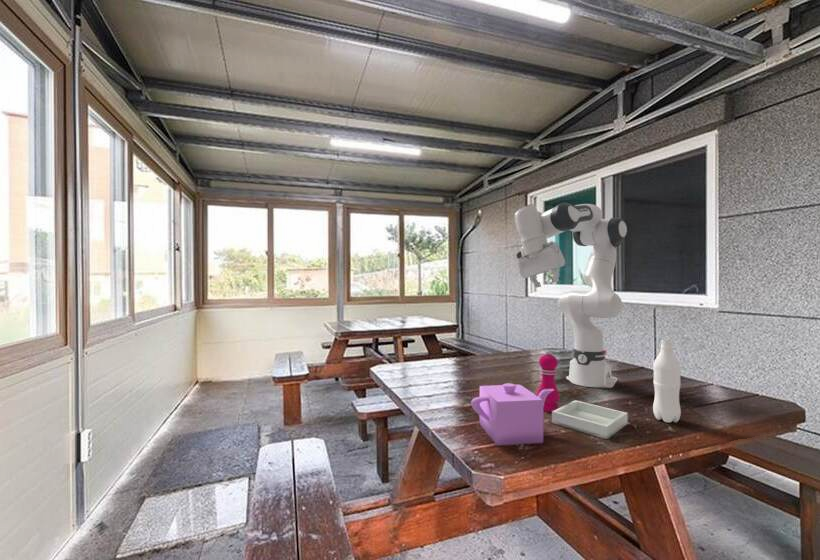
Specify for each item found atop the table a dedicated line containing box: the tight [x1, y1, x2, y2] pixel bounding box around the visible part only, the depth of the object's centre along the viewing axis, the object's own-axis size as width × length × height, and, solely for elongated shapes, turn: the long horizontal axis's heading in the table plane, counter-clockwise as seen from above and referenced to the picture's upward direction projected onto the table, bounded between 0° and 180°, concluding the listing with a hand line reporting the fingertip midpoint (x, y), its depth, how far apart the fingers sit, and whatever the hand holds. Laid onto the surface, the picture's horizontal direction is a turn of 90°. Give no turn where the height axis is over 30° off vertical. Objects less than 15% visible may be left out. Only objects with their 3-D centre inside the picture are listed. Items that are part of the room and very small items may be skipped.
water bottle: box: [652, 339, 682, 424], centre depth 118 cm, size 7×7×25 cm
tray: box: [551, 399, 628, 440], centre depth 115 cm, size 16×16×4 cm
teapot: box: [470, 382, 554, 446], centre depth 109 cm, size 15×25×14 cm, turn 97°
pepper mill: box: [536, 349, 560, 413], centre depth 128 cm, size 7×7×20 cm
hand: (546, 284), depth 136 cm, fingers open, 8 cm apart
